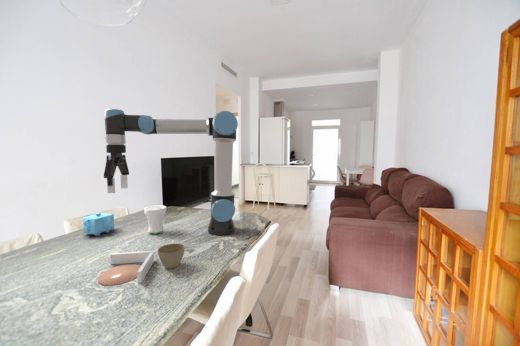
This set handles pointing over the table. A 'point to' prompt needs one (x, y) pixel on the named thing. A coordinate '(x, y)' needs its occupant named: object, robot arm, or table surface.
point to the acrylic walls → (133, 258)
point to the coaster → (118, 274)
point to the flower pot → (171, 255)
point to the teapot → (98, 223)
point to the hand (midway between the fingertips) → (118, 190)
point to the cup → (155, 218)
